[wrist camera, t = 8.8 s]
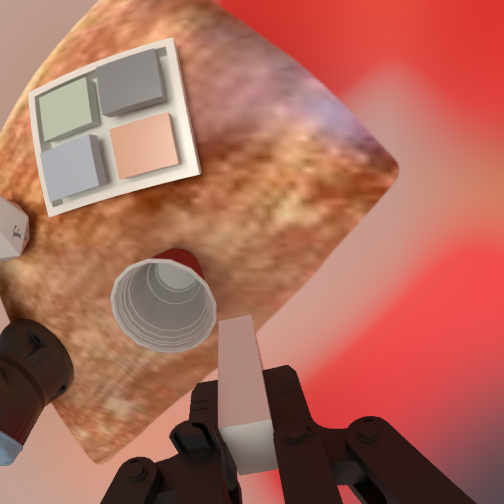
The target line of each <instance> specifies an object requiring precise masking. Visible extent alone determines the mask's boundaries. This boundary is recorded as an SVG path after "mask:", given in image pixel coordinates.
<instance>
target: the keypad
mask: <svg viewBox="0 0 504 504" xmlns="http://www.w3.org/2000/svg"><path fill="white" fill-rule="evenodd" d="M153 48H155V50H156V51H157V53H158V54H159V58H160V64H161V70H162V76H163V82H164V87H165V93H166V98H167V101H163V102H160V103H156V104H152V105H149V106H146V107H142V108H139V109H136V110H132V111H129V112H126V113H123V114H120V115H117V116H114V117H111V118H110V117H107V116H104V115H102V110H101V104H100V97H99V90H98V82H97V74H96V67H99V66H101V65H104V64H107V63H110V62H112V61H115V60H118V59H121V58H124V57H127V56H130V55H133V54H136V53H139V52H143V51H146V50H149V49H153ZM84 77H87V78H89V79H90V80H92V81H94V87H95V94H96V101H97V108H98V115H99V121H100V125H97V126H94V127H91V128H89V129H86V130H83V131H81V132H78V133H76V134H73V135H71V136H68V137H66V138H63V139H61V140H59V141H56V142H44V135H43V128H42V120H41V112H40V102H39V98H40V97H42V96H44V95H46V94H48V93H50V92H52V91H55V90H57V89H59V88H61V87H63V86H66V85H68V84H70V83H72V82H75V81H77V80H79V79H82V78H84ZM28 99H29V110H30V119H31V128H32V135H33V142H34V149H35V155H36V161H37V166H38V171H39V177H40V181H41V186H42V191H43V195H44V200H45V204H46V208H47V212H48V216H49V217H52V216H55V215H58V214H60V213H63V212H66V211H70V210H73V209H76V208H79V207H82V206H85V205H88V204H91V203H95V202H98V201H101V200H105V199H108V198H111V197H115V196H118V195H122V194H125V193H129V192H132V191H136V190H140V189H143V188H147V187H151V186H155V185H159V184H162V183H166V182H170V181H174V180H178V179H183V178H187V177H191V176H195V175H200V174H202V170H201V166H200V161H199V156H198V151H197V146H196V142H195V137H194V132H193V127H192V122H191V117H190V112H189V107H188V102H187V96H186V91H185V86H184V81H183V75H182V70H181V65H180V59H179V54H178V48H177V46H176V43H175V41H174V39H173V37H172V38H168V39H164V40H161V41H157V42H153V43H150V44H147V45H143V46H140V47H137V48H133V49H130V50H127V51H124V52H121V53H118V54H116V55H113V56H110V57H107V58H104V59H102V60H99V61H97V62H94V63H91V64H89V65H87V66H84V67H82V68H79V69H77V70H75V71H72V72H70V73H68V74H66V75H63V76H61V77H59V78H57V79H55V80H53V81H51V82H49V83H47V84H45V85H43V86H41V87H39V88H37V89H35V90H33V91H31V92H29V93H28ZM166 112H168V113H169V114H171V115H172V120H173V125H174V130H175V135H176V140H177V145H178V150H179V154H180V159H181V164H178V165H174V166H170V167H167V168H163V169H159V170H155V171H151V172H148V173H144V174H140V175H137V176H133V177H130V178H126V179H121V180H119V175H118V171H117V166H116V161H115V156H114V151H113V146H112V141H111V136H110V129H113V128H116V127H119V126H122V125H125V124H128V123H131V122H135V121H138V120H141V119H145V118H148V117H152V116H155V115H159V114H162V113H166ZM87 134H92V135H97V136H98V142H99V147H100V152H101V157H102V162H103V167H104V172H105V176H106V181H107V184H105V185H102V186H99V187H95V188H92V189H89V190H86V191H83V192H80V193H77V194H74V195H71V196H68V197H66V198H63V199H60V200H56V201H53V202H50V201H49V197H48V192H47V188H46V183H45V178H44V173H43V168H42V163H41V157H40V154H41V153H43V152H45V151H48V150H50V149H52V148H55V147H57V146H59V145H62V144H64V143H67V142H69V141H72V140H74V139H77V138H79V137H82V136H85V135H87Z"/></svg>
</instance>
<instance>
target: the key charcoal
mask: <svg viewBox="0 0 504 504" xmlns="http://www.w3.org/2000/svg"><path fill="white" fill-rule="evenodd" d="M96 74H97V82H98V90H99V97H100V104H101V110H102V115H104V116H107V117H110V118H111V117H114V116H117V115H120V114H123V113H126V112H129V111H132V110H136V109H139V108H142V107H146V106H149V105H152V104H156V103H160V102H163V101H167V98H166V93H165V87H164V82H163V76H162V70H161V64H160V58H159V54H158V53H157V51H156V50H155V48H153V49H149V50H146V51H143V52H139V53H136V54H133V55H130V56H127V57H124V58H121V59H118V60H115V61H112V62H110V63H107V64H104V65H101V66H99V67H96Z"/></svg>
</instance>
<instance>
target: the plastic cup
mask: <svg viewBox="0 0 504 504" xmlns="http://www.w3.org/2000/svg"><path fill="white" fill-rule="evenodd" d="M110 299H111V305H112V312H113V316H114V318H115V320H116V321H117V323H118V325H119V326H120V328H121V329H122V331H123V332H124V333H125V334H126V335H127V336H128V337H130V338H131V339H132V340H133V341H134V342H136V343H137V344H138V345H140V346H143V347H145V348H148V349H150V350H153V351H155V352H163V353H179V352H183V351H187V350H190V349H194V348H195V347H197V346H198V345H199V344H200V343H202V342H203V341H204V340H206V339H207V338H208V337H209V335H210V333H211V331H212V329H213V327H214V325H215V323H216V301H215V299H214V297H213V295H212V293H211V291H210V288H209V286H208V284H207V282H206V281H204V277H203V274H202V272H201V269H200V266H199V264H198V262H197V259H196V258H195V257H194V256H193V255H192V254H191V253H190V252H187V251H185V250H183V249H170V250H167V251H165V252H163V253H160V254H158V255H156V256H154V257H152V258H148V259H146V260H143V261H140V262H138V263H135V264H132V265H130V266H128V267H127V268H126V269H125V270H124V271H123V272H122V273H121V274H120V275H119V276H118V278H117V279H116V280H115V283H114V286H113V289H112V293H111V296H110Z"/></svg>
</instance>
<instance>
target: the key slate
mask: <svg viewBox="0 0 504 504" xmlns="http://www.w3.org/2000/svg"><path fill="white" fill-rule="evenodd" d="M40 157H41V163H42V168H43V173H44V178H45V183H46V188H47V192H48V197H49V201H50V202H53V201H56V200H60V199H63V198H66V197H68V196H71V195H74V194H77V193H80V192H83V191H86V190H89V189H92V188H95V187H99V186H102V185H105V184H107V181H106V176H105V172H104V167H103V162H102V157H101V152H100V147H99V142H98V136H97V135H92V134H87V135H85V136H82V137H79V138H77V139H74V140H72V141H69V142H67V143H64V144H62V145H59V146H57V147H55V148H52V149H50V150H48V151H45V152H43V153H41V154H40Z"/></svg>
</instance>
